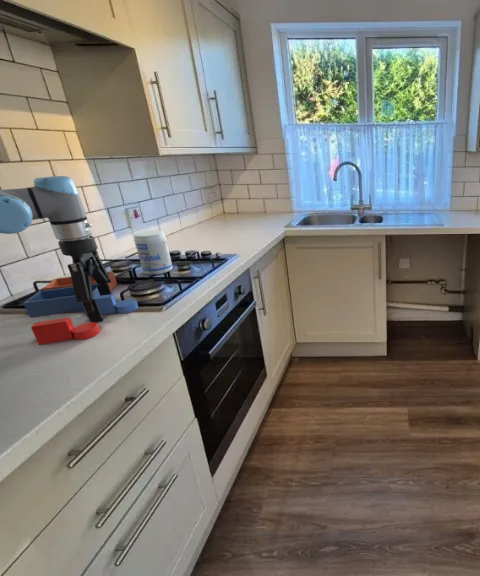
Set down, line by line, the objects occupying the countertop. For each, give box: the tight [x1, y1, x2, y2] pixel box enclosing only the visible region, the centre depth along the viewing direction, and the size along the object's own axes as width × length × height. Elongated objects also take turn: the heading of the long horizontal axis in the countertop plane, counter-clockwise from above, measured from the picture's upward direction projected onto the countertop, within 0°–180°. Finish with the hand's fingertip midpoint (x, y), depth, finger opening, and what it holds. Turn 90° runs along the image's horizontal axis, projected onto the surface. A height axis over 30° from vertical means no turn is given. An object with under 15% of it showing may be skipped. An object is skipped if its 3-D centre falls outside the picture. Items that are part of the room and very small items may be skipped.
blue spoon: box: [82, 293, 139, 318], centre depth 103 cm, size 12×5×5 cm, turn 110°
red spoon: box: [30, 316, 101, 345], centre depth 90 cm, size 12×5×5 cm, turn 110°
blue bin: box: [23, 284, 100, 318], centre depth 108 cm, size 16×9×4 cm, turn 111°
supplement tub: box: [133, 229, 173, 276], centre depth 133 cm, size 10×10×15 cm
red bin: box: [41, 271, 118, 292], centre depth 117 cm, size 16×9×4 cm, turn 110°
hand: (103, 312), depth 103 cm, fingers open, 11 cm apart
